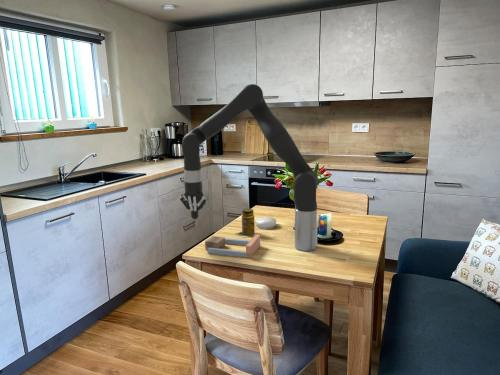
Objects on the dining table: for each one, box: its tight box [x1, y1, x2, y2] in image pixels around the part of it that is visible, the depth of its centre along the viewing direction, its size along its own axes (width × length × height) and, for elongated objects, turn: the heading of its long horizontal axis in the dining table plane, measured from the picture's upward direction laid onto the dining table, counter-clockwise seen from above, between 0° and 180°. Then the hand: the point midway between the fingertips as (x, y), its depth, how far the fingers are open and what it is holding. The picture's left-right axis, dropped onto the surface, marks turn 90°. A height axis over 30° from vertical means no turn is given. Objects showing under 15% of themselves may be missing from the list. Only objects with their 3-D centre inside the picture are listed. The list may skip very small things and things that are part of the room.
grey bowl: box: [255, 216, 277, 230], centre depth 190 cm, size 10×10×3 cm
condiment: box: [235, 208, 258, 239], centre depth 178 cm, size 7×8×12 cm
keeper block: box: [204, 235, 226, 251], centre depth 163 cm, size 6×7×4 cm
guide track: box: [207, 234, 261, 259], centre depth 160 cm, size 19×14×5 cm
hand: (195, 218), depth 163 cm, fingers closed
